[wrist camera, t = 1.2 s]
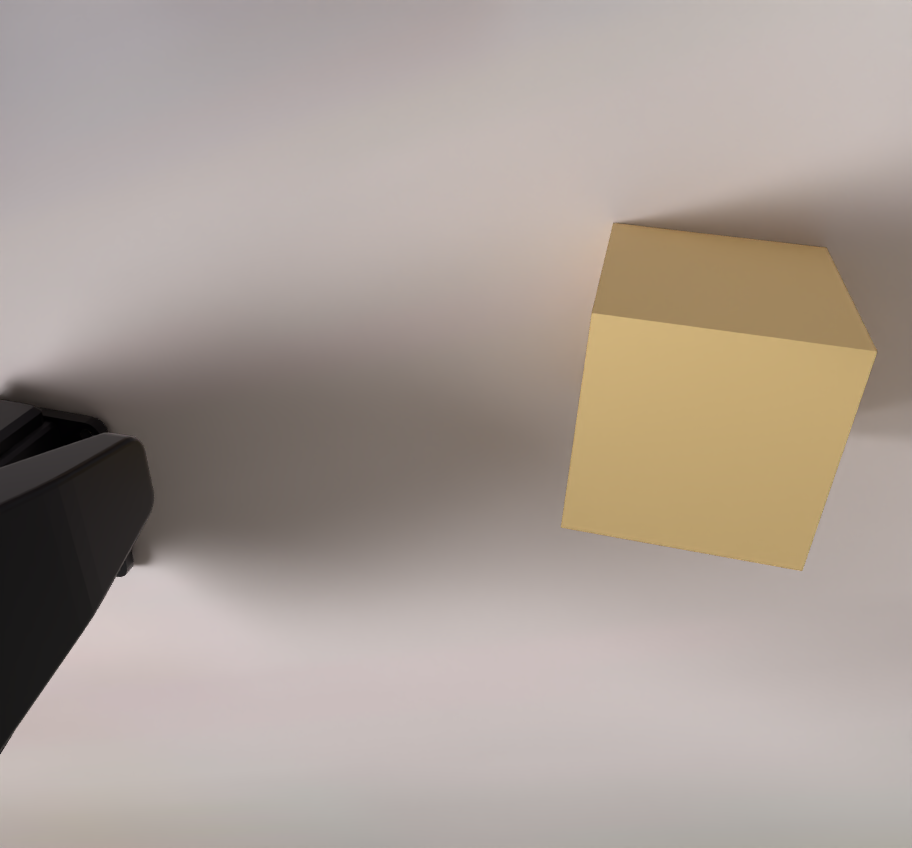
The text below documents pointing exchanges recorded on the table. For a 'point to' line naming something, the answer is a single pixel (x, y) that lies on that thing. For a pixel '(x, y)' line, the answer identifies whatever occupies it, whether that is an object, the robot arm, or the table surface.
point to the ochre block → (715, 394)
